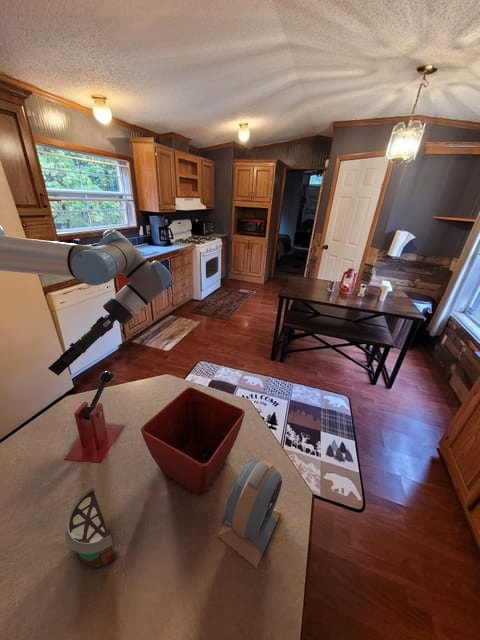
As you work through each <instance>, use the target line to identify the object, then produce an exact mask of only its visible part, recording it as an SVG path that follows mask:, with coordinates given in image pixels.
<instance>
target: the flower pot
mask: <svg viewBox="0 0 480 640" xmlns="http://www.w3.org/2000/svg"><path fill="white" fill-rule="evenodd" d="M245 413H246V411H245V410H244V409H243V408H241V407H239V406H237V405H235V404H232V403H230V402H227V401H225V400H222V399H220V398H217V397H216V396H213V395H211V394H209V393H206V392H204V391H201V390H199V389H197V388H195V387H192V386H189V387H186V388H185V389H184V390H183V391H181V392H180V393H179V394H178V395H177V396H176V397H175V398H174V399H172V400H171V401H170V402H169V403H168V404H166V405H165V406H164V407H163V408H162V409H161V410H159V411H158V412H157V413H156V414H154V416H152V417H151V418H150V419H149V420H148V421H147V422H146V423H144V424H143V425H142V426H141V427H140V432H141V436H142V438H143V441H144V443H145V445H146V447H147V449H148V451H149V454H150V456H151V457H152V459H153V461H154V462H155V463H156V465H157V467H158V468H159V469H160V470H161V472H162V473H163V475H165V476H167V477H168V478H170V479H172V480H173V481H175V482H176V483H178V484H180V485H181V486H183V487H184V488H185V489H187V490H189V491H191V492H192V493H193V494H195V495H197V496H200V497H201V496H203V495H204V493H205V492H206V491H207V489H208V487H209V486H210V485H211V484H212V482H213V480H214V479H215V477H217V474H218V473H219V472H220V470H221V468H222V467H223V465H224V463H225V462H226V460H227V458H228V457H229V455H230V453H231V451H232V449H233V447H234V445H235V443H236V441H237V438H238V436H239V433H240V431H241V427H242V425H243V422H244V418H245ZM204 452H205V455H203V453H204Z"/></svg>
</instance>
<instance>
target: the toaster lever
mask: <svg viewBox="0 0 480 640" xmlns="http://www.w3.org/2000/svg"><path fill="white" fill-rule="evenodd" d="M99 380H100V384H99V386H98V388H97V390H96V393H95V395H94V396H93V399H92V401H91V403H90V405H88V406H86V408H85V410H84V412H83V414H82V417H83V418H84V419H85V420H90V415H89V414H90V413H91V412H92V411H93V409H94V408H95V407H96V406H97V404H98V403H99V400H100V399H101V396H102V394H103V392H104V390H105V388H106V385H107V384H110V383H111V382H112V381H113V380H114V374H113V371H109V370H104V371H103V372H101V373H100V375H99Z"/></svg>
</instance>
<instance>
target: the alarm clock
mask: <svg viewBox="0 0 480 640" xmlns="http://www.w3.org/2000/svg"><path fill="white" fill-rule="evenodd" d="M282 484H283V477H282V475H281V473H280V471H279V470H277V469H276V467H275V465H273V464H272V463H270V462H268V461H266V460H265V459H263V460H261V459H258V458H255V459H253V458H252V459H250V461H248V462H247V463H246V464H245V465H244V467H242V469H241V471H240V473H239V474H238V475H237V478H236V479H235V481H234V484H233V486H232V488H231V490H230V493H229V495H228V499H227V502H226V508H225V516H226V519H225V521H224V523H223V526H222V528H220V531H219V532H218V533H217V537H218V538H219V539H220V538H221V539H220V540H221V541H223V540H224V541H225V542H226V543H227V544H226V543H225V542H224V541H223V542H224V543H225V544H226V545H228V546H229V547H230V546H231V547H232V548H233V550H234V552H236V551H237V552H238V553H237V552H236V553H237V554H238V555H239V556H241V555H242V556H243V557H244V558H243V557H242V556H241V557H242V558H243V559H245V560H246V561H247V560H248V561H249V562H248V561H247V562H248V563H249V564H250V565H252V564H253V565H254V566H255V567H254V566H253V565H252V566H253V567H254V568H255V569H258V566H259V564H260V562H261V559H262V558H263V555H264V552H265V550H266V548H267V546H268V544H269V540H270V539H271V537H272V534H273V531H274V529H275V527H276V525H277V522H278V520H279V518H280V516H281V514H282V513H281V511H280V510H278V509H277V508H275V507H276V505H277V502H278V498H279V496H280V493H281V489H282ZM231 547H230V548H231ZM232 548H231V549H232Z"/></svg>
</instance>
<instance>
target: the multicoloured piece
mask: <svg viewBox="0 0 480 640" xmlns="http://www.w3.org/2000/svg"><path fill="white" fill-rule="evenodd" d="M65 540H66V543H67V545H68V546H69V548H70V549H71V550H72V551H74V552H76V553H77V554H78V556H79V558H80V560H81V561H82V563H83V564H84V565H85V566H86V567H89V568H90V569H91V568H92V569H99V568H103V567H106V566H108V565H110V564H111V563H113V562H114V561H116V558H115V557H116V556H115V552H114V546H113V544H114V543H113V539H112V536H111V534H110V532H109V530H108V528H107V525H106V522H105V519H104V516H103V513H102V511H101V508H100V505H99V502H98V499H97V496H96V492H95V487H94V486H92V487H90V488H89V489H87V490H86V491H85V492H83V494H81V495H80V496H79V498H77V500H75V502H74V504H73V506H72V508H71V509H70V511H69V513H68V516H67V519H66V524H65Z"/></svg>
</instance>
